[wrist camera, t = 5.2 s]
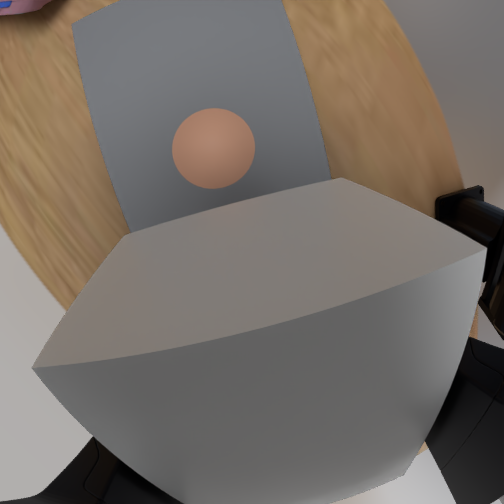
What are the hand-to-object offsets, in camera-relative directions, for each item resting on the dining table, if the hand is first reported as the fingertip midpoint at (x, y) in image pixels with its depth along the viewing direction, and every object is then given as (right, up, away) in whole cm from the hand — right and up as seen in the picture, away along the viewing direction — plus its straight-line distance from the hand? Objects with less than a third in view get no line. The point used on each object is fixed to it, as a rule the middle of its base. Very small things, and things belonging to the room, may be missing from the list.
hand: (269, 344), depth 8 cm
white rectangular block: (0, 0, +1) cm, 1 cm away
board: (-4, +12, +7) cm, 14 cm away
